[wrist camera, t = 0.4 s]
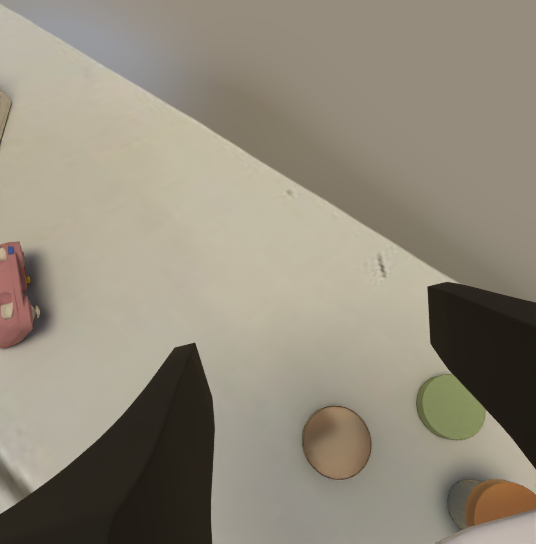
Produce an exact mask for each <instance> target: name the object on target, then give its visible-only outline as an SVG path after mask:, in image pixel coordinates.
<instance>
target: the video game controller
mask: <svg viewBox="0 0 536 544" xmlns="http://www.w3.org/2000/svg"><path fill="white" fill-rule="evenodd" d="M24 265H25V258H24V253H23V252H22V250H21V246H20V242H9V243H5V244H1V245H0V348H7V347H10V346H13V345H15V344H17V343H19V342H20V341H21V340H23V339H24V338H25V337H26V336H27V335H28V333H29V332H30V331H32V330H33V326H32V324H33V320H34V318H35V315H37V318H39V315H40V310H39V308H38V307H37V306H36V309H34V308H33V306H31V304H30V302H29V300H28V297H27V295H24V296H23V292H22V291H27V283H30V277H29V276H25V269H24Z"/></svg>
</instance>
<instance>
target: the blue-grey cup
mask: <svg viewBox="0 0 536 544" xmlns="http://www.w3.org/2000/svg"><path fill="white" fill-rule="evenodd" d="M480 483H482V482H480V481H477V480H471V479H465V480H461V481H459V482H457V483H456V484H455V485H454V486H453V487H452V488H451V490H450V492H449V495H448V509H449V513H450V515H451V517H452V519H453V521H454V522H455V523H456V524H457V526H458V527H459V528H460V529H462V530H464V529H466V528H467V526H466V521H465V506H466V502H467V499H468V497H469V495H470V493H471V492H472V490H473V489H474V488H475V487H476V486H477V485H479V484H480Z"/></svg>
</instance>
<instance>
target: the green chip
mask: <svg viewBox="0 0 536 544" xmlns="http://www.w3.org/2000/svg"><path fill="white" fill-rule="evenodd" d="M417 409H418V413H419V416H420V418H421V420H422V422H423V423H424V425H425V426H426V427H427V428H428V429H429V430H430V431H431V432H433V433H434V434H436V435H438V436H440V437H442V438H446V439H453V440H463V439H467V438H470V437H472V436H474V435H475V434H476V433H477V432H478V431H479V430H480V429H481V427H482V425H483V423H484V420H485V408H484V407H483V406H482V405H481V404H480V403H479V402H478V401H477V400H476V398H475V397H474V396H473V395H472V394H471V393H470V392H469V391H468V390H467V389H466V388H465V387H464V386H463V385H462V384H461V382H460V381H459V380H458V379H457V378H456V377H455V376H454V375H450V374H449V375H441V376H437V377H434V378H431V379H429V380H428V381H426V382H425V383H424V384H423V386H422V387H421V389H420V390H419V393H418V397H417Z"/></svg>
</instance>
